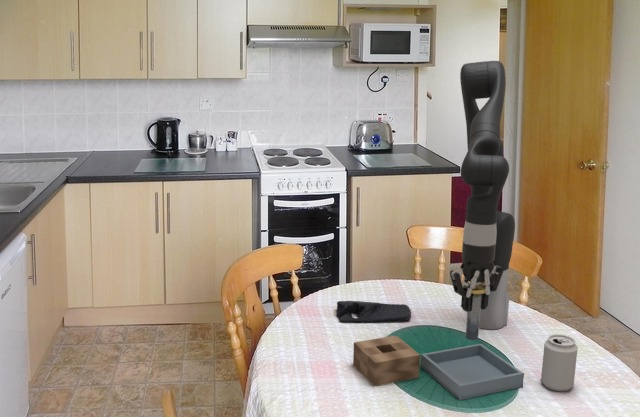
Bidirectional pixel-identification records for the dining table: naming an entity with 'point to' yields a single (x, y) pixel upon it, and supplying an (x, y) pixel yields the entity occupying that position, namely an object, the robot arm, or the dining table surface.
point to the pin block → (386, 360)
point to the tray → (471, 371)
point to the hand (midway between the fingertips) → (474, 309)
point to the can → (559, 362)
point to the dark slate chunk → (371, 312)
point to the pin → (474, 313)
